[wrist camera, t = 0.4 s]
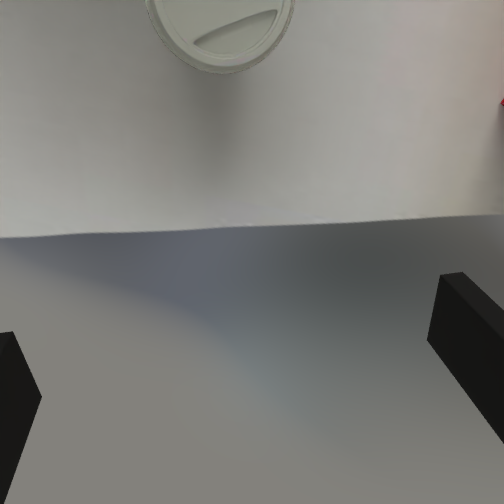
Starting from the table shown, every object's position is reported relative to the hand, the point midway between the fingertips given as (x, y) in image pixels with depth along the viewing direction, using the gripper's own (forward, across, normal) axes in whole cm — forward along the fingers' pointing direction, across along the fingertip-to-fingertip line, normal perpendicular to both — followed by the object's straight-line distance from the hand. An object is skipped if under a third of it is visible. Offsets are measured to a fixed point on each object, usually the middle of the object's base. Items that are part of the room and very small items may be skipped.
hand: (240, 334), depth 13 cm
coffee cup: (+28, +2, +10) cm, 30 cm away
